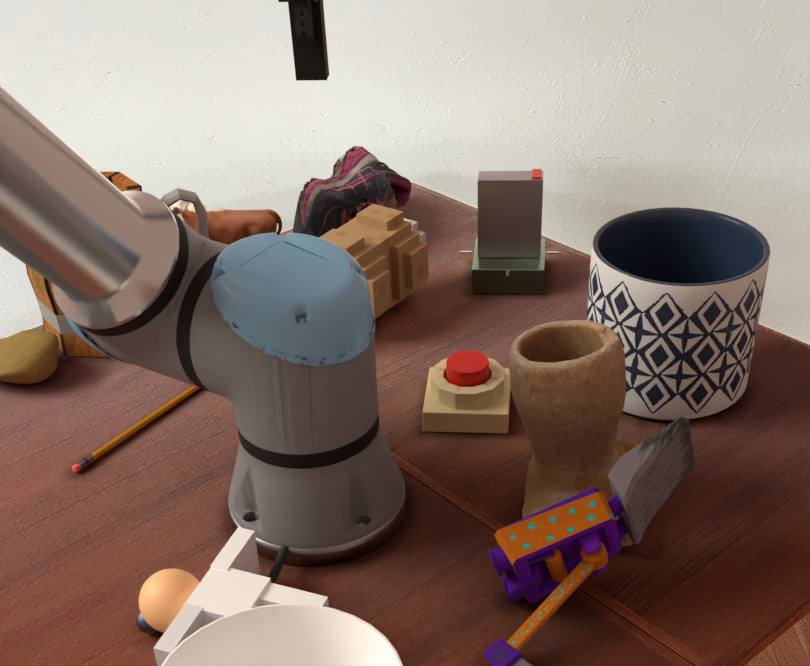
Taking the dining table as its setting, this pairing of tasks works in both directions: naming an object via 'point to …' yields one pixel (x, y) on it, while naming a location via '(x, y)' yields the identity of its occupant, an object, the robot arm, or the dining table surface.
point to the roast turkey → (385, 253)
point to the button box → (467, 402)
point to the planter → (680, 306)
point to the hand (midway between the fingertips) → (312, 77)
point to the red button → (467, 369)
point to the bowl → (286, 640)
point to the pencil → (132, 429)
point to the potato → (28, 356)
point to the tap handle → (510, 213)
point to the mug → (43, 288)
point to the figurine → (210, 594)
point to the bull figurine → (230, 222)
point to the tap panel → (508, 273)
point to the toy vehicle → (585, 532)
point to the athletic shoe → (348, 193)
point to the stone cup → (569, 408)
